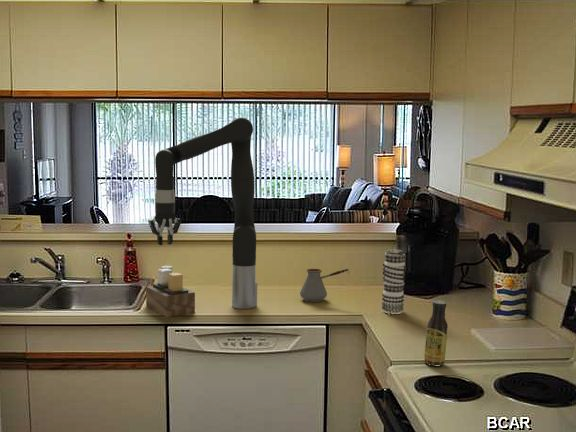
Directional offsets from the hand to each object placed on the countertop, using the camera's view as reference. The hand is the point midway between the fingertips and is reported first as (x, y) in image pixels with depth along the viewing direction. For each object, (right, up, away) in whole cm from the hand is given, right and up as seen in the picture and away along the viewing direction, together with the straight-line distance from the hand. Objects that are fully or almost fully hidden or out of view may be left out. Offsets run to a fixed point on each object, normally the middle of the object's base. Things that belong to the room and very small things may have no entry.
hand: (165, 244), depth 262 cm
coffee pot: (+63, -25, +18) cm, 70 cm away
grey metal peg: (0, -18, +2) cm, 18 cm away
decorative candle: (+90, -27, +4) cm, 94 cm away
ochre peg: (+5, -19, -5) cm, 20 cm away
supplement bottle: (-3, -23, +20) cm, 30 cm away
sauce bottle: (+94, -35, -55) cm, 114 cm away
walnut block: (+2, -25, 0) cm, 26 cm away
